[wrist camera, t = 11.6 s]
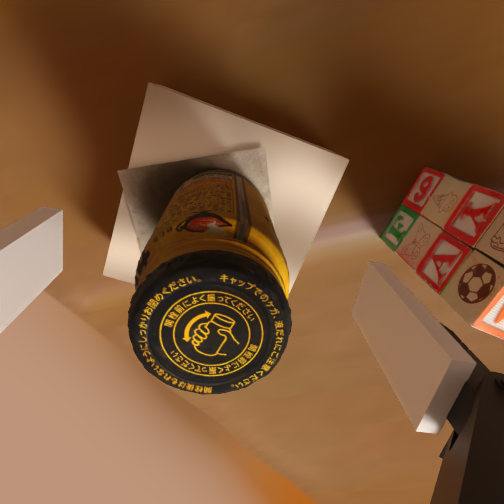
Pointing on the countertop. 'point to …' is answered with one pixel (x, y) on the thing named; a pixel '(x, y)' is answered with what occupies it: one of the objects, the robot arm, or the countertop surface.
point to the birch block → (225, 141)
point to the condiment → (207, 272)
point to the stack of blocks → (455, 245)
